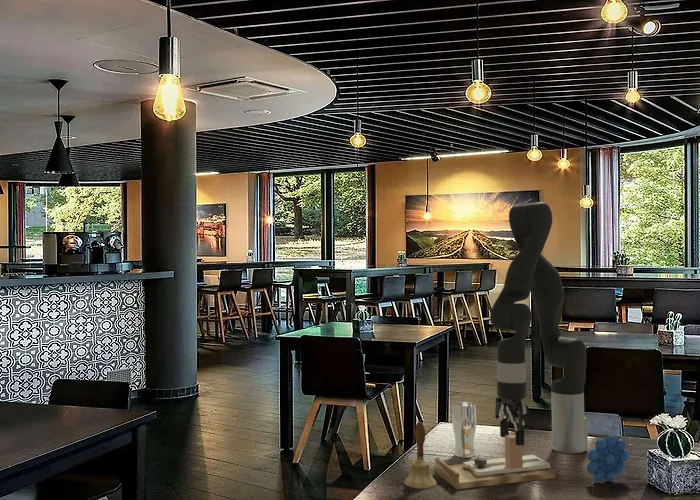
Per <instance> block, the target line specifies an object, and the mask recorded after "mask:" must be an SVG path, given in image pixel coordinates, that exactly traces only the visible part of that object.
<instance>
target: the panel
mask: <svg viewBox="0 0 700 500" xmlns="http://www.w3.org/2000/svg"><path fill="white" fill-rule="evenodd" d="M504 456H505V457H499V458H488V459H487V464H486V465H483V467H485V468H482V469H478V465H476V464H475V463H474V460H472V461H464V462H462V464H463V466H464V467H465V468H467V469H468V468H469V469H470V470H472V471H473V473H474V474H475V475H477V476H484V475H493V474H502V473H511V472H520V471H529V470H538V469H547V468H549V469H551V468H552V467H551V463H549V462H547V461H546V460H543V459H542V458H540V457H538V456H537V455H534V454H528V455H527V454H526V455H523V445H520V446H518V445H516V444H515V434H509V435H505V437H504ZM487 467H490V468H487Z"/></svg>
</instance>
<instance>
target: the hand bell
mask: <svg viewBox="0 0 700 500" xmlns="http://www.w3.org/2000/svg"><path fill="white" fill-rule="evenodd" d="M414 438H415V439H414V440H415V442H416V445H417V446H416V447H417V448H416V449H417V450H416V459H415V460H413V461H412V462H411V465H410V470H409V471H410V473H409V474H408V476H407V477H406V478H405V480H404V482H403V483H404V486H406V487H409V488H411V489H418V490H426V489H431V488H434V487H436V486H437V481H436V479H435V478H434V477H433V476H432V474H431V469H430V463H429V462H428V461H426V460H425V459H424V456H425V455H424V446H425V445H424V444H425V441H426V430H425V426H424V423H423V421H420V420H419V421H417V424H416V427H415V431H414Z"/></svg>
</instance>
